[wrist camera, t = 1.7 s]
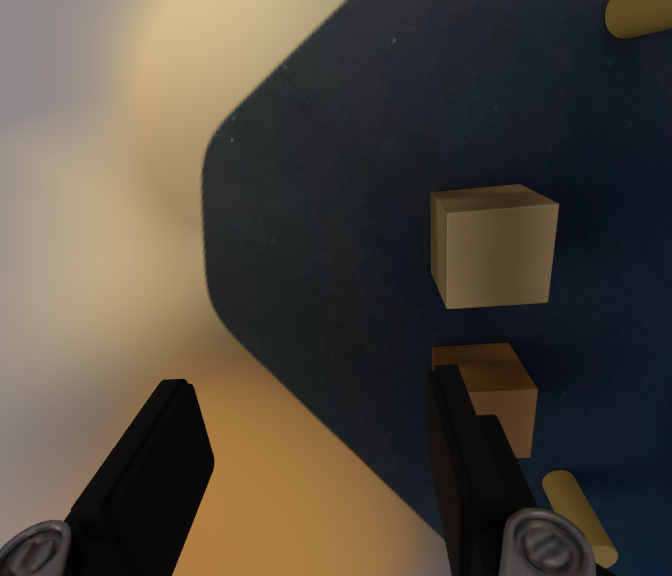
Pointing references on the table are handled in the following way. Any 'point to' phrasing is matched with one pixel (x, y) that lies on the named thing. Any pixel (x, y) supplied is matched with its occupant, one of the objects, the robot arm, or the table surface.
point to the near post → (638, 17)
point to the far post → (579, 513)
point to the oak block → (496, 387)
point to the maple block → (492, 245)
